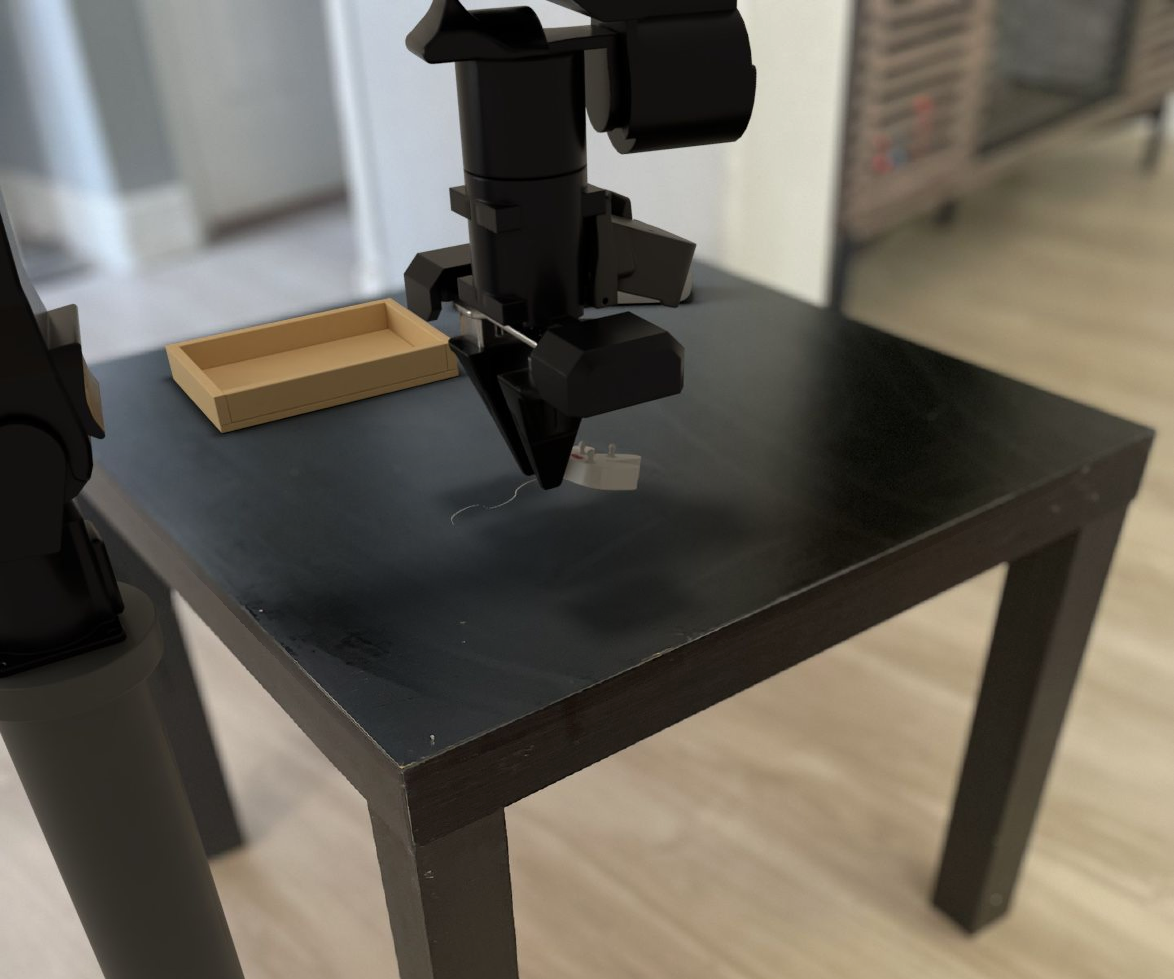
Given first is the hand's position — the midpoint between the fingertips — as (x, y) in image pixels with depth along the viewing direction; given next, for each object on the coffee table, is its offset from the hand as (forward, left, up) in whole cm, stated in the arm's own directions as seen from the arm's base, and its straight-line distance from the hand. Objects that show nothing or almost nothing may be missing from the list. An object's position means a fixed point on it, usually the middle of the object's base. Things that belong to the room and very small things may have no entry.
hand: (542, 480), depth 66 cm
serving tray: (-2, +31, -4) cm, 31 cm away
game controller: (0, 0, -1) cm, 1 cm away
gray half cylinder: (+22, +35, -4) cm, 42 cm away
